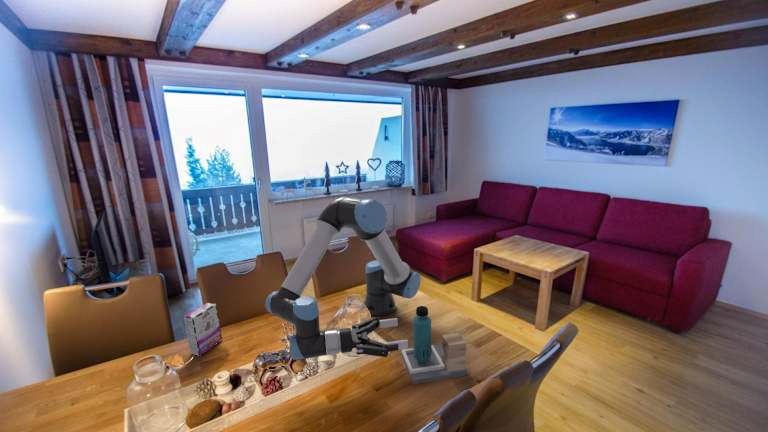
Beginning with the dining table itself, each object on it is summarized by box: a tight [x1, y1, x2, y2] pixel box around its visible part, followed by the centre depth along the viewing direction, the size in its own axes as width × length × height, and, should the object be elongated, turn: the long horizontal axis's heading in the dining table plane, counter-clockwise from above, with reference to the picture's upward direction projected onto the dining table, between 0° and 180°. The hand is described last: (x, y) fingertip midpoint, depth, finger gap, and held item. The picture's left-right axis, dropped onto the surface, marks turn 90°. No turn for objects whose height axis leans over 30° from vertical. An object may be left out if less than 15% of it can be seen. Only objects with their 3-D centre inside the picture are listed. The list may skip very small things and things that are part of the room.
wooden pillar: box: [441, 332, 467, 372], centre depth 112 cm, size 6×6×10 cm
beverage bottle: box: [412, 305, 433, 362], centre depth 114 cm, size 6×7×20 cm
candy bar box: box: [183, 302, 223, 357], centre depth 128 cm, size 11×5×16 cm, turn 161°
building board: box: [400, 344, 469, 385], centre depth 116 cm, size 16×19×2 cm
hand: (402, 332), depth 112 cm, fingers open, 13 cm apart
